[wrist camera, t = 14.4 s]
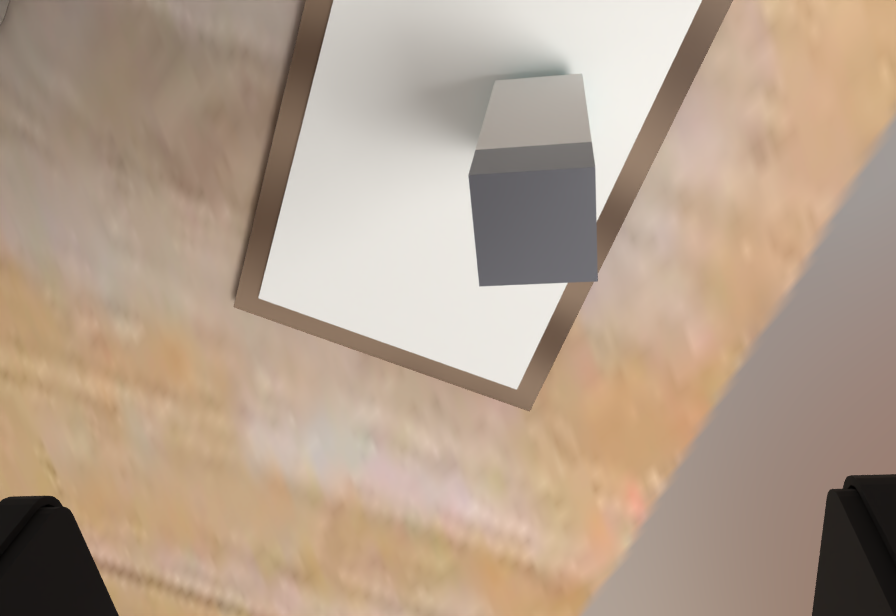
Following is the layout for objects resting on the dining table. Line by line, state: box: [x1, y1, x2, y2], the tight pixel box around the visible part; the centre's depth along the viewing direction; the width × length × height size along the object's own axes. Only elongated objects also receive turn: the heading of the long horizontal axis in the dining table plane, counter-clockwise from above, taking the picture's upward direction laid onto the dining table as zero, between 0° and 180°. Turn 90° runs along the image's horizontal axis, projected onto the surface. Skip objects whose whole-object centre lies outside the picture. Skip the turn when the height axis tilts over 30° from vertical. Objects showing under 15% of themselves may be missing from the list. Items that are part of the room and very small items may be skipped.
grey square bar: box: [468, 73, 598, 287], centre depth 25 cm, size 3×3×11 cm
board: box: [234, 0, 733, 411], centre depth 31 cm, size 22×14×1 cm, turn 161°
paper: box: [258, 0, 702, 390], centre depth 30 cm, size 20×12×1 cm, turn 161°
